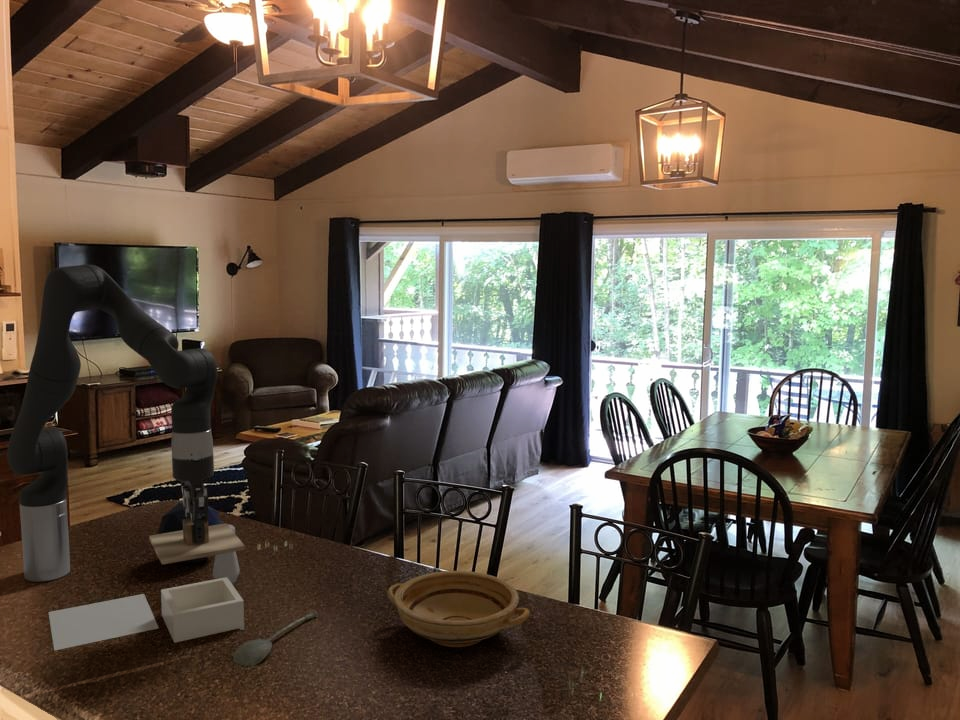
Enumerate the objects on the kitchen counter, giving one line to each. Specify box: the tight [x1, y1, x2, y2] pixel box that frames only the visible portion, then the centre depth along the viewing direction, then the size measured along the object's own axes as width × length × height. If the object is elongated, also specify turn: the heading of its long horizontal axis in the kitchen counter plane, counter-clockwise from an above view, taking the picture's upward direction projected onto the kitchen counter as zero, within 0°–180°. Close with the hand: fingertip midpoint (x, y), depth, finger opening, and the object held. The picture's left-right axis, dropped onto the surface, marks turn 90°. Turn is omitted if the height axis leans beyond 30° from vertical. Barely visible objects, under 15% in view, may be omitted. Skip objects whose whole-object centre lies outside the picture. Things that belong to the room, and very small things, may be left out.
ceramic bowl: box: [386, 570, 531, 648], centre depth 156 cm, size 30×24×8 cm
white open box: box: [160, 577, 245, 644], centre depth 159 cm, size 13×13×6 cm
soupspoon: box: [232, 610, 318, 667], centre depth 153 cm, size 22×3×7 cm
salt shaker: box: [212, 524, 241, 585], centre depth 178 cm, size 6×6×13 cm
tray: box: [48, 593, 160, 652], centre depth 159 cm, size 18×18×1 cm
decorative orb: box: [157, 502, 223, 564], centre depth 190 cm, size 14×15×15 cm
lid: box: [148, 517, 246, 565], centre depth 156 cm, size 15×15×5 cm
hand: (196, 538), depth 156 cm, fingers closed on lid, 4 cm apart
